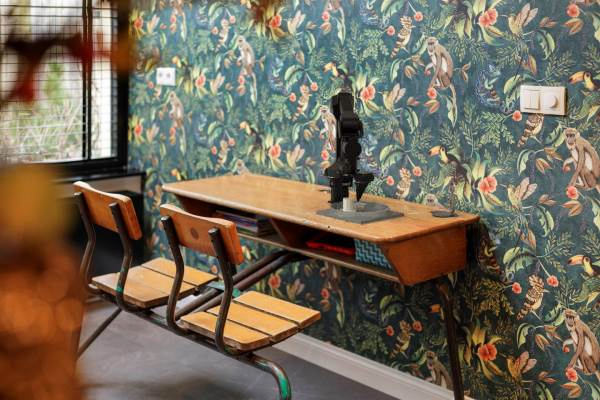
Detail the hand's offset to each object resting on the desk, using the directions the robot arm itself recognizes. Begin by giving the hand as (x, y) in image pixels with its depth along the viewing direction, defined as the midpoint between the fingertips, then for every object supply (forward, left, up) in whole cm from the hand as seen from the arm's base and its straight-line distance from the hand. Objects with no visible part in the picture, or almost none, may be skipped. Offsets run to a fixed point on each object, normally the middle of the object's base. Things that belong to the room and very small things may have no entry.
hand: (348, 199), depth 273 cm
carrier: (0, +6, -6) cm, 9 cm away
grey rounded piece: (+20, +28, -6) cm, 35 cm away
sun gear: (0, +6, -6) cm, 9 cm away
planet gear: (0, 0, -5) cm, 5 cm away
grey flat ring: (0, +6, -6) cm, 9 cm away
